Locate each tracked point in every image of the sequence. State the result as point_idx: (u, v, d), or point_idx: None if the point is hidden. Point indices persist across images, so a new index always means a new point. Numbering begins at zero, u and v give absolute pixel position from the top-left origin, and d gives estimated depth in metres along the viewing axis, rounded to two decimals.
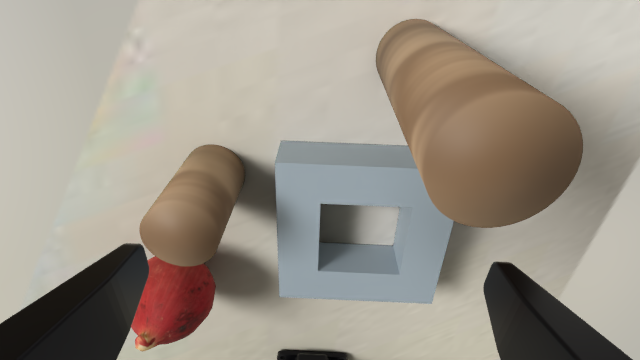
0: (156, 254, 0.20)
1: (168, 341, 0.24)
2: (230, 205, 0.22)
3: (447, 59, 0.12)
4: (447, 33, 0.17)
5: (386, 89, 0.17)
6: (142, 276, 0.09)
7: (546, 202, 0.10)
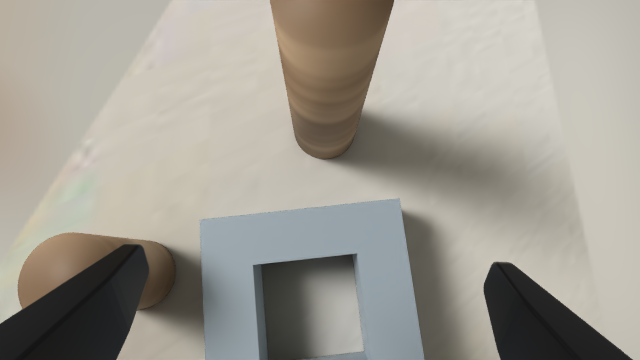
0: None
1: None
2: None
3: None
4: None
5: (291, 112, 0.20)
6: (142, 276, 0.09)
7: (384, 13, 0.12)
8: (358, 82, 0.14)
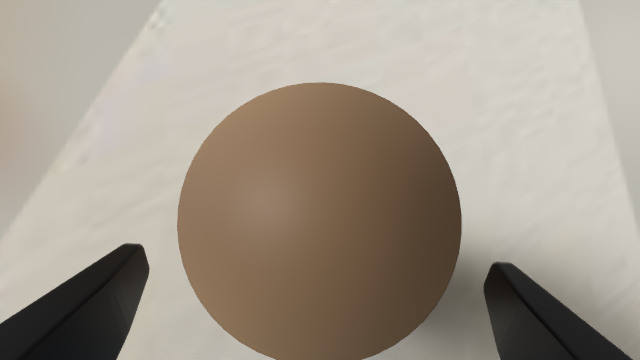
0: None
1: None
2: None
3: None
4: None
5: None
6: (142, 276, 0.09)
7: (440, 273, 0.05)
8: None
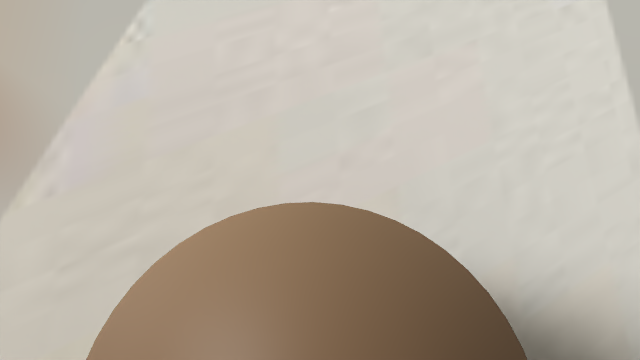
0: None
1: None
2: None
3: None
4: None
5: None
6: None
7: None
8: None
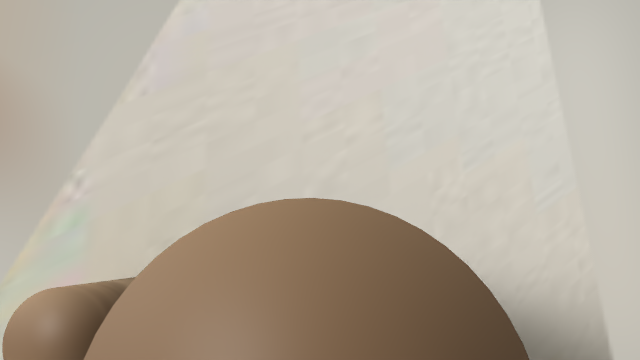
0: None
1: None
2: None
3: None
4: None
5: None
6: None
7: None
8: None
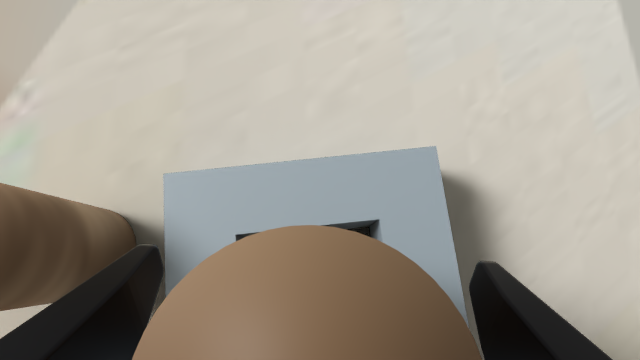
0: None
1: None
2: (80, 238, 0.13)
3: None
4: None
5: None
6: (157, 277, 0.09)
7: None
8: None
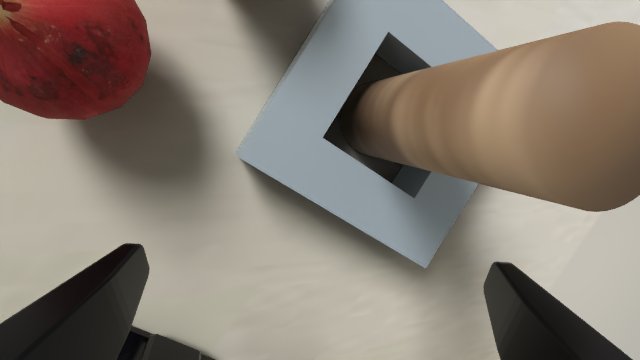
0: None
1: (28, 53, 0.10)
2: None
3: None
4: None
5: (376, 104, 0.15)
6: (142, 276, 0.09)
7: (627, 196, 0.08)
8: None
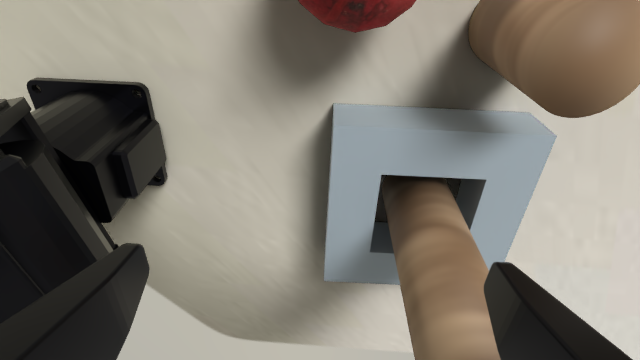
0: (573, 15, 0.12)
1: None
2: None
3: None
4: None
5: (426, 207, 0.19)
6: (142, 276, 0.09)
7: None
8: (410, 333, 0.16)
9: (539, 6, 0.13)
